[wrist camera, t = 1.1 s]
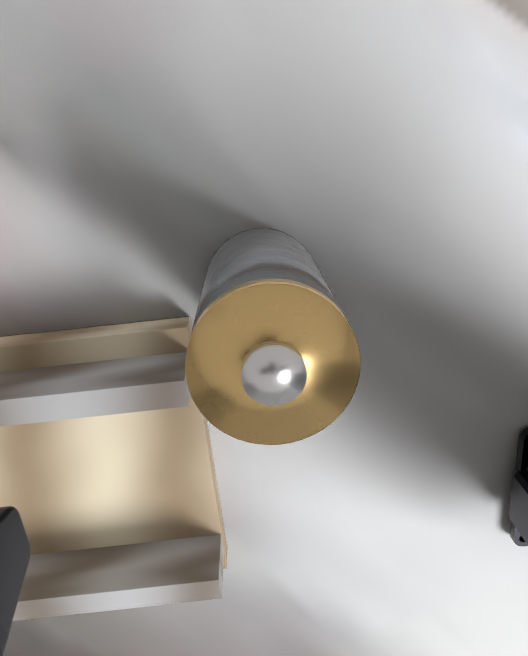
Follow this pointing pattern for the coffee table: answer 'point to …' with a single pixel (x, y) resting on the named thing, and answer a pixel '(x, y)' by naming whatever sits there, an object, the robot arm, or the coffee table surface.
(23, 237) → the coffee table surface
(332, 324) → the cell
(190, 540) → the cradle
